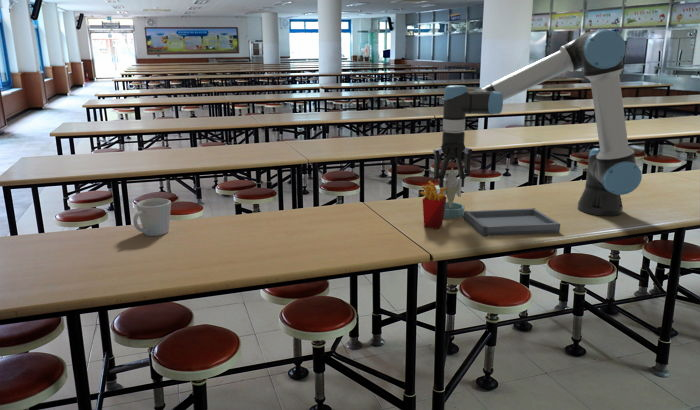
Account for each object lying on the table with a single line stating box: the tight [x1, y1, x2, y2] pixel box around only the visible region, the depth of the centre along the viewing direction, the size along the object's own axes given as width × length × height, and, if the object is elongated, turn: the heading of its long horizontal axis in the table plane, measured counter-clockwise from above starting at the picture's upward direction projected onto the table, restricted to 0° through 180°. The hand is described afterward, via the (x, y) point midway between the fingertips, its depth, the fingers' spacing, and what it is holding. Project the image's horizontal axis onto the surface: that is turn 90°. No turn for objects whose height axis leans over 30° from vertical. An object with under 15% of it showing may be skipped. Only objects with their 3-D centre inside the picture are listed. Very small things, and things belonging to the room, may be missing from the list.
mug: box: [132, 197, 172, 237], centre depth 174 cm, size 10×15×10 cm
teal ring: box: [443, 201, 466, 219], centre depth 198 cm, size 11×11×3 cm
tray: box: [463, 207, 561, 237], centre depth 186 cm, size 26×18×3 cm
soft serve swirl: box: [445, 166, 459, 208], centre depth 196 cm, size 5×5×15 cm
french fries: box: [419, 180, 448, 230], centre depth 183 cm, size 9×8×15 cm
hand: (450, 196), depth 197 cm, fingers closed on soft serve swirl, 5 cm apart
